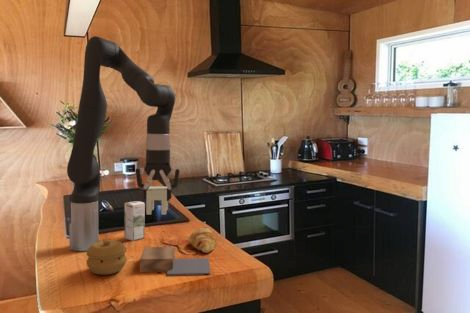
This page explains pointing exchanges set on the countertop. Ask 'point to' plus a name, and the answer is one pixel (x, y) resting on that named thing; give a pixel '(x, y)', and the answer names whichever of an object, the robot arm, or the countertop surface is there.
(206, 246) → the croissant
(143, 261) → the tan square slab
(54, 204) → the countertop surface
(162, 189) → the notched cream block
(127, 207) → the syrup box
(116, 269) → the pot
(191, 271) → the felt pad
